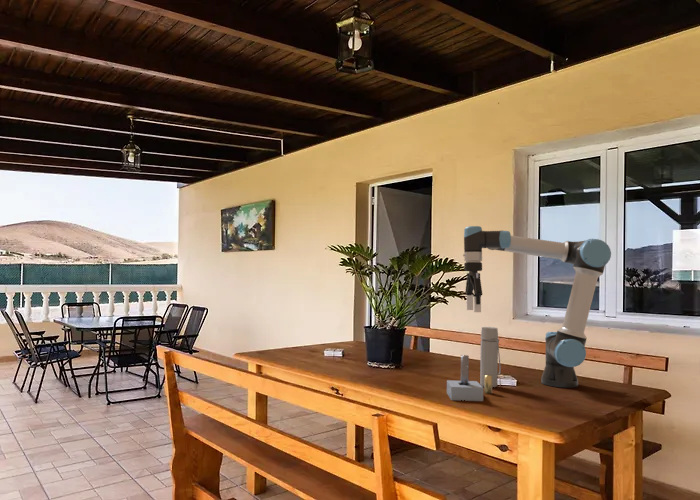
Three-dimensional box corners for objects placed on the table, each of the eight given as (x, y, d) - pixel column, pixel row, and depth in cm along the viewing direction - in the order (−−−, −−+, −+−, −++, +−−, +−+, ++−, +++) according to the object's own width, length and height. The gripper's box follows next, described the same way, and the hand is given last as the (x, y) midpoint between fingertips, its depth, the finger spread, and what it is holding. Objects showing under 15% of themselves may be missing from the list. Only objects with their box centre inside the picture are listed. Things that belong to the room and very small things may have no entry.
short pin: (491, 392, 212) (491, 374, 212) (492, 393, 209) (492, 376, 209) (483, 392, 212) (483, 374, 212) (485, 393, 209) (485, 376, 209)
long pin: (467, 396, 204) (467, 355, 205) (468, 397, 202) (469, 356, 202) (459, 395, 205) (460, 355, 205) (461, 397, 202) (461, 356, 202)
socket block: (476, 393, 209) (476, 381, 209) (483, 401, 197) (483, 387, 197) (446, 392, 209) (446, 380, 210) (451, 400, 197) (451, 386, 198)
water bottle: (485, 388, 218) (486, 328, 219) (476, 384, 226) (477, 326, 227) (505, 387, 221) (505, 328, 222) (495, 383, 228) (495, 326, 229)
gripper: (458, 262, 238) (458, 309, 237) (471, 261, 213) (471, 313, 212) (474, 262, 238) (475, 309, 237) (489, 261, 213) (490, 313, 212)
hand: (473, 311), depth 224 cm, fingers open, 13 cm apart
